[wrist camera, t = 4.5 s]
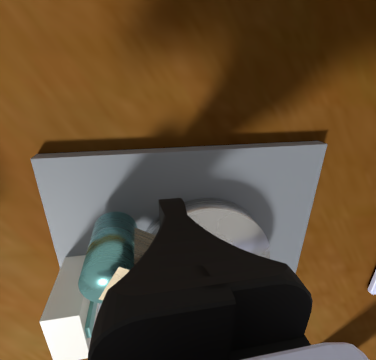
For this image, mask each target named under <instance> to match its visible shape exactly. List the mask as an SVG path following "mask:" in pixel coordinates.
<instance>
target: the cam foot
mask: <svg viewBox="0 0 376 360" xmlns="http://www.w3.org/2000/svg"><path fill="white" fill-rule="evenodd" d="M184 203H185V207H186V211H187V215H188V216H189V217H190V218H191V219H193V220H194V221H195V222H196V223H197V224H199V225H200V226H201V227H203V228H204V229H205V230H207V231H208V232H210V233H212V234H213V235H215V236H216V237H218V238H220V239H222V240H224V241H226V242H228V243H230V244H232V245H234V246H236V247H238V248H240V249H243V250H245V251H248V252H250V253H253V254H256V255H258V256H261V257H265V258H268V259H270V247H269V242H268V240H267V237H266V235H265V234H264V232H263V231H262V229H261V228H260V227H259V226H258V224H257V223H256V222H255V221H254V219H253V218H252V217H251V216H250V214H249V213H248V212H247V211H246V210H244V209H243V208H242V207H240V206H238V205H237V204H235V203H232V202H230V201H226V200H223V199H216V198H203V199H195V200H191V201H187V202H184ZM159 228H160V221H159V217H158V218H157V219H156V220H155V221H154V222H153V223H152V224H151V225H150V227H149V228H148V229H147V231H146V232H145V231H143V230H140V229H137V224H136V222H135V220H134V219H133V218H132V217H131V216H129V215H128V214H126V213H123V212H109V213H106V214H104V215H102V216H101V217H99V218H98V220H97V221H96V222H95V225H94V228H93V232H92V235H91V239H90V242H89V246H88V249H87V253H86V256H85V260H84V263H83V267H82V270H81V274H80V277H79V281H78V287H79V290H80V292H81V294H82V295H83V296H84V297H85V298H87V299H88V300H90V301H92V302H96V303H101V304H102V302H103V299H104V297H105V295H106V292H107V290H108V289H109V288H111V287H112V286H113V285H114V284H116V283H117V282H118V281H119V280H120V279H121V278H122V277H124V276H125V275H126V274H127V273H128V272H129V271H130V270H131V268H132V267H133V266H134V265H135V264H136V263H137V262H138V261H139V260H140V258H141V257H142V256H143V255H144V253H145V252H146V250H147V249H148V248H149V246H150V245H151V243H152V241H153V240H154V238H155V236H156V234H157V232H158V230H159Z"/></svg>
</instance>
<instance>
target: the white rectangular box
mask: <svg viewBox="0 0 376 360" xmlns="http://www.w3.org/2000/svg"><path fill="white" fill-rule="evenodd" d="M85 256H86V255H81V256H73V257H65V259H64V261H63V264H62V266H61V269H60V271H59V274H58V276H57V279H56V281H55V284H54V286H53V289H52V291H51V294H50V296H49V299H48V301H47V304H46V306H45V309H44V311H43V314H42V317H41V319H40V325H41V327H42V330H43V333H44V336H45V339H46V341H47V344H48V347H49V350H50V353H51V355H52V358H53V360H80V359H85V358H88V352H89V346H90V341H91V336H92V331H93V327H94V324H95V321H96V318H97V313H98V307H99V303H96V302H92V301H90V300H88V299H87V298H85V297H84V296H83V295H82V294H81V292H80V290H79V287H78V281H79V277H80V274H81V270H82V267H83V263H84V260H85Z"/></svg>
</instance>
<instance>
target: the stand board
mask: <svg viewBox="0 0 376 360" xmlns="http://www.w3.org/2000/svg"><path fill="white" fill-rule="evenodd" d="M326 147H327V144H326V143H323V142H320V141H302V142H281V143H260V144H238V145H217V146H196V147H175V148H153V149H132V150H111V151H90V152H68V153H47V154H36V155H35V156H34V157H32V158H31V163H32V166H33V170H34V174H35V177H36V181H37V185H38V188H39V192H40V196H41V199H42V203H43V207H44V210H45V214H46V218H47V222H48V225H49V229H50V233H51V236H52V240H53V244H54V247H55V251H56V255H57V258H58V262H59V266H60V269H61V266H62V264H63V261H64V259H65V257H73V256H81V255H86V253H87V249H88V246H89V242H90V239H91V235H92V232H93V228H94V225H95V222H96V221H97V220H98V218H99V217H101V216H102V215H104V214H106V213H109V212H123V213H126V214H128V215H129V216H131V217H132V218H133V219H134V220H135V222H136V224H137V229H140V230H143V231H145V232H146V231H147V229H148V228H149V227H150V225H151V224H152V223H153V222H154V221H155V220H156V219H157V218H158V217H159V201H158V200H159V199H171V198H182V200H183V201H184V202H187V201H191V200H195V199H203V198H216V199H223V200H226V201H230V202H232V203H235V204H237V205H238V206H240V207H242V208H243V209H244V210H246V211H247V212H248V213H249V214H250V216H251V217H252V218H253V219H254V221H255V222H256V223H257V224H258V226H259V227H260V228H261V229H262V231H263V232H264V234H265V235H266V237H267V240H268V242H269V247H270V259H272V260H275V261H279V262H282V263H286V264H287V265H288V266H289V267H290V268H291V269H292V270H293V272H294V273H296V269H297V265H298V261H299V257H300V253H301V249H302V245H303V241H304V237H305V233H306V229H307V225H308V221H309V217H310V212H311V208H312V204H313V200H314V196H315V192H316V188H317V184H318V180H319V176H320V172H321V168H322V164H323V160H324V156H325V152H326ZM100 306H101V303H99V307H98V312H99V309H100ZM97 315H98V313H97Z"/></svg>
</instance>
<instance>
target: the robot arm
mask: <svg viewBox="0 0 376 360" xmlns="http://www.w3.org/2000/svg"><path fill="white" fill-rule="evenodd" d="M158 201H159V221H160V228H159V230H158V232H157V234H156V236H155V238H154V240H153V241H152V243H151V245H150V246H149V248H148V249H147V250H146V252H145V253H144V255H143V256H142V257H141V258H140V260H139V261H138V262H137V263H136V264H135V265H134V266H133V267H132V268H131V270H130V271H129V272H128V273H127V274H126V275H125V276H124V277H122V278H121V279H120V280H119V281H118V282H117V283H116V284H114V285H113V286H112V287H111V288H109V289H108V290H107V292H106V295H105V297H104V299H103V302H102V304H101V306H100V309H99V312H98V315H97V318H96V321H95V324H94V327H93V331H92V336H91V341H90V346H89V352H88V360H369V359H368V358H367V357H366V355H365V354H364V353H363V352H362V351H360V350H359V349H358V348H356V347H355V346H354V345H353V344H349V343H345V342H325V343H320V344H315V345H311V344H310V343H309V341H308V340H307V338H306V337H305V335H304V333H305V330H306V327H307V323H308V320H309V317H310V313H311V309H312V298H311V294H310V292H309V291H308V290H307V288H306V287H305V286H304V284H303V283H302V282H301V280H300V279H299V278H298V276H297V275H296V274H295V273H294V272H293V270H292V269H291V268H290V267H289V266H288V265H287V264H286V263H282V262H279V261H275V260H272V259H268V258H265V257H261V256H258V255H256V254H253V253H250V252H248V251H245V250H243V249H240V248H238V247H236V246H234V245H232V244H230V243H228V242H226V241H224V240H222V239H220V238H218V237H216V236H215V235H213V234H212V233H210V232H208V231H207V230H205V229H204V228H203V227H201V226H200V225H199V224H197V223H196V222H195V221H194V220H193V219H191V218H190V217H189V216H188V215H187V211H186V207H185V203H184V201H183V200H182V198H171V199H159V200H158ZM368 291H369V292H370V293H371V294H376V270H375V273H374V275H373V278H372V280H371V282H370V285H369V287H368Z"/></svg>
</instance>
